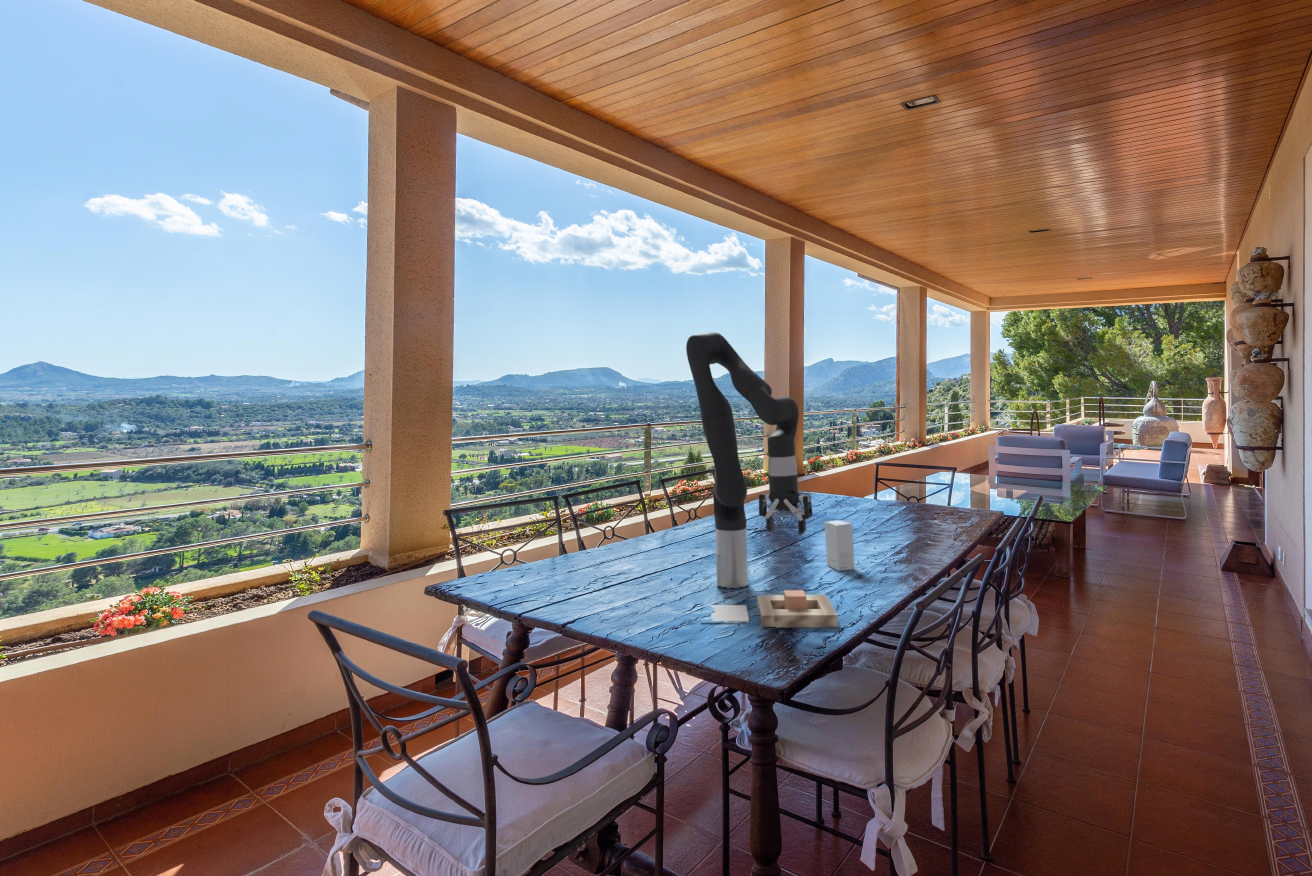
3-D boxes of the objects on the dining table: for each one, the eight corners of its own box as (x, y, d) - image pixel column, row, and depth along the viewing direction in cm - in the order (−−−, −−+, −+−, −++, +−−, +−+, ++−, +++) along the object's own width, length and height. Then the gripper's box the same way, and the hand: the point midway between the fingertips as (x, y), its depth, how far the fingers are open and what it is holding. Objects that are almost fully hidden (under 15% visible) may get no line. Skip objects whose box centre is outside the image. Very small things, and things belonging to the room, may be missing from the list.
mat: (700, 623, 160) (700, 621, 160) (701, 607, 172) (701, 605, 172) (749, 623, 159) (748, 620, 159) (746, 607, 171) (746, 605, 171)
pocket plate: (762, 627, 156) (761, 615, 156) (757, 606, 172) (757, 595, 172) (837, 627, 155) (837, 615, 154) (825, 605, 171) (825, 594, 170)
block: (786, 619, 161) (786, 596, 161) (784, 613, 166) (783, 590, 166) (806, 619, 161) (806, 596, 160) (804, 613, 166) (803, 590, 165)
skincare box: (854, 570, 204) (854, 523, 203) (837, 571, 203) (836, 525, 202) (841, 563, 212) (840, 519, 211) (824, 565, 211) (824, 520, 210)
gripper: (752, 474, 172) (756, 534, 173) (802, 475, 163) (806, 537, 165) (764, 470, 178) (767, 528, 179) (813, 471, 170) (817, 531, 171)
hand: (786, 532), depth 172 cm, fingers open, 8 cm apart
